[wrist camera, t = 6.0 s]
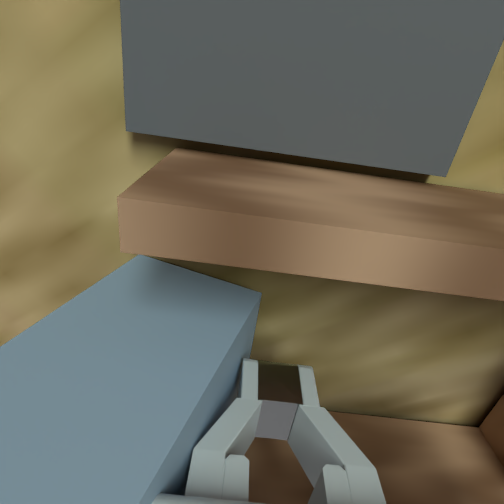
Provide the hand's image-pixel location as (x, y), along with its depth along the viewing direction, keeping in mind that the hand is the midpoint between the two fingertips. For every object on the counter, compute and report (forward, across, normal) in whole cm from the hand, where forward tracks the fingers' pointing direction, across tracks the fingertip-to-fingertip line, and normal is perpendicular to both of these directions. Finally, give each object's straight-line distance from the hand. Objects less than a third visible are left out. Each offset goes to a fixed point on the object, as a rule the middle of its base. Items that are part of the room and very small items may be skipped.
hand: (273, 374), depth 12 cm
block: (+2, +3, 0) cm, 4 cm away
